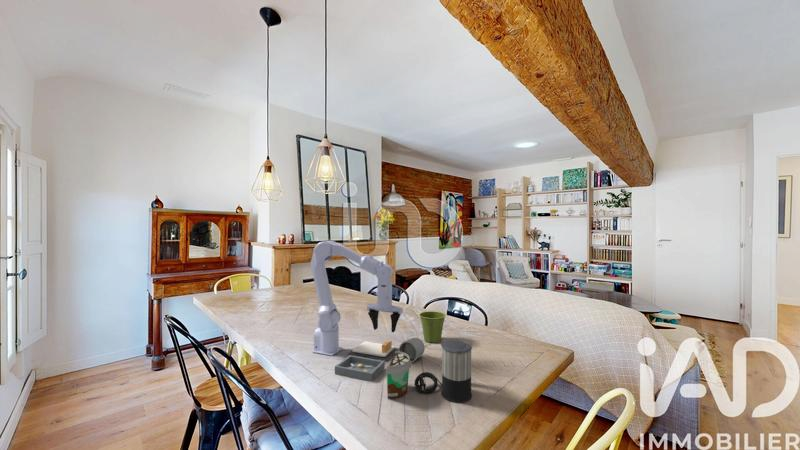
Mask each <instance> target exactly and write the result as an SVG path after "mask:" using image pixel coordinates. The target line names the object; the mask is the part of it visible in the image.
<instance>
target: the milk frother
mask: <svg viewBox="0 0 800 450" xmlns="http://www.w3.org/2000/svg"><path fill="white" fill-rule="evenodd" d="M440 345H441V350H442V351H441V352H442V353H441V354H442V355H441V357H442V359H441V361H442V362H441V368H442V369H441V371H442V373H441V374H442V376H441V382H440V380H439V379H438V377H436V375H434V374H433V373H432V372H428V371H423V372H421V373H419V374H418V375H417V376H416V378H415V379H414V388H415V389H416V390H417V391H418V392H420V393H424V394H432V393H434V392H435V391H436V390H437V389H438V387H439V386H438V385H439V384H440V385H441V390H440V394H441V396H442V397H443V398H444V399H445V400H447V401H448V402H452V403H466V402H469V401H470V400H471V399H472V397H473V393H472V350H473V345H472V344H471V343H469V342H466V341H465V340H459V339H456V340H455V339H449V340H445V341H443V342H442V343H441V344H440ZM424 378H428V379H430V380H431V381H432V382H433V386H431V387H429V388H426V387H427V383H426V382H425V379H424Z"/></svg>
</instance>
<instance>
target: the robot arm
mask: <svg viewBox="0 0 800 450" xmlns="http://www.w3.org/2000/svg"><path fill="white" fill-rule="evenodd" d="M312 249H313V254H312V257H311V260H310V268H311V272H312V278H313V281H314V286H315V291H316V294H317V300H318V303H319V308H318V311H317V312H318V314H317V315H318V321H317V325H318V327H317V328H316V329H315V330H314V333H313V349H312V353H315V354H320V355H325V356H326V355H327V356H334V355H336V354H338V352H340V351H342V350H343V349H344V347H343V346H339V345H340V343H339V341H340V339H339V338H340V337H339V336H340V335H339V332H340V329H339V322H340V321H341V313H340V312H339V310H338V309H337V306H336V304H335V303H334V302H333V296H332V292H331V287H330V283H329V278H328V273H327V268H326V264H327V263H328V261H329V260H330V259H331V258H332V257H333V256H334V257H335V256H336V257H337V256H342V257H344V258H346V259H348V260H350V261H352V262H354V263H356V264H358V265H359V268H360V269H362V270H363V271H365V272H367V273H370V274H371V275H373V276H375V277H376V278H377V291H376V292H377V295H376V296H377V297H376V299H377V301H376V303H377V304H367V305H366V311H368V313H367V315H368V316H369V318H370V322H371V324H372V326H373V330H374V331H375V330H378V328H379V313H380V312H381V313H382V312H383V313H390V315H389V316H390V320H391V333H394V332H395V331H396V328H397V324H398V321H399V320H400V318H401V315H402V314H403V311H404V309H403V307H400V306H393V283H392V281H393V278H392V275H394V270H393V267H392V266H391V264H389V263H384V261H379V260H377V259H375V258H374V256H373V255H367V254H366V255H364V256H363V255H361V254H360V253H358V252H356V251H354V250H352V249H351V248H349V247H347V246H345V245H343V244H341V243H340V242H336V241H334V240H330V239H329V240H327V241H320V242H318V243H317V244H315V246H314V248H312Z"/></svg>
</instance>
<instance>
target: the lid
mask: <svg viewBox="0 0 800 450" xmlns="http://www.w3.org/2000/svg"><path fill="white" fill-rule="evenodd" d="M392 344H393V343H392V340H390V339H387V340H386V341H385V342H384V343H378V342H371V341H366V340H365V341H363V342H361V343H360V344H358V345H357V346H356V347H354V348H353V349H351V351H352V352H357V353H363V354H368V355H374V356H380V357H386V356H387V355H388V354H389V353H390V352H391V351H392V350H393V349H394V348H396V345H392Z"/></svg>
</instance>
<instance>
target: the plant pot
mask: <svg viewBox="0 0 800 450" xmlns="http://www.w3.org/2000/svg"><path fill="white" fill-rule="evenodd" d="M418 316H419V318H420V322H421V326H422V328H421V329H422V333H423V340H424V342H426V343H439V342H441V340H442V335H443V327H444V322H445V318H446V317H447V314H446V313H444V312H440V311H433V310H432V311H431V310H429V311H422V312H419V314H418Z"/></svg>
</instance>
